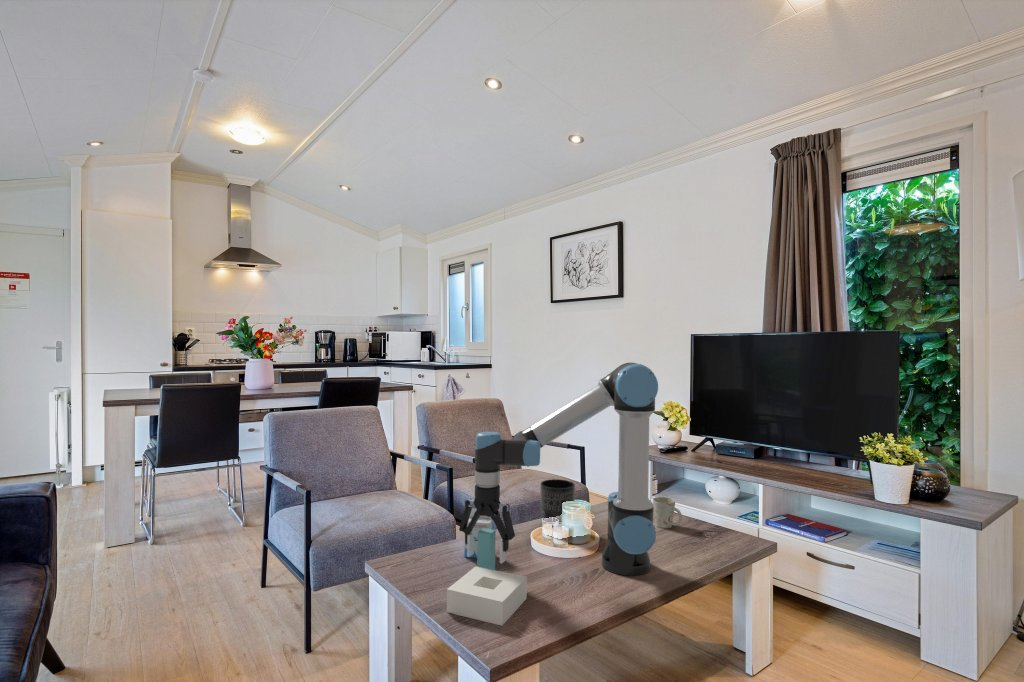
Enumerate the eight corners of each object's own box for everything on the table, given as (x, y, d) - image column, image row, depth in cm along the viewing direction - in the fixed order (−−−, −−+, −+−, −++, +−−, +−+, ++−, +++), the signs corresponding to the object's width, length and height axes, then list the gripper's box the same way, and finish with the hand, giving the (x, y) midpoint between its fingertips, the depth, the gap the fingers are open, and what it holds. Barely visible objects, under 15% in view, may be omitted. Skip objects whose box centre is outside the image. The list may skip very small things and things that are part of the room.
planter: (537, 525, 213) (538, 479, 213) (571, 525, 214) (571, 479, 214) (541, 537, 200) (542, 488, 200) (577, 537, 201) (578, 488, 201)
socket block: (526, 598, 153) (526, 576, 153) (502, 625, 139) (502, 601, 139) (475, 587, 160) (475, 566, 160) (446, 612, 145) (447, 589, 145)
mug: (661, 520, 220) (661, 495, 220) (688, 529, 211) (689, 503, 211) (648, 525, 215) (648, 499, 215) (676, 534, 205) (676, 507, 205)
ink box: (463, 557, 181) (464, 512, 181) (466, 551, 186) (467, 507, 186) (489, 559, 180) (490, 513, 180) (491, 553, 185) (492, 508, 185)
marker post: (495, 576, 167) (495, 529, 167) (489, 581, 164) (489, 534, 163) (483, 573, 169) (483, 527, 169) (477, 579, 165) (477, 532, 165)
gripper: (527, 485, 165) (526, 560, 165) (460, 477, 174) (459, 547, 174) (517, 492, 158) (516, 570, 158) (448, 482, 167) (447, 556, 167)
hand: (486, 558), depth 166 cm, fingers open, 10 cm apart
